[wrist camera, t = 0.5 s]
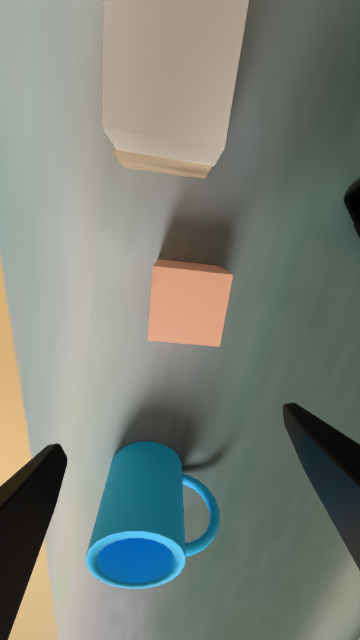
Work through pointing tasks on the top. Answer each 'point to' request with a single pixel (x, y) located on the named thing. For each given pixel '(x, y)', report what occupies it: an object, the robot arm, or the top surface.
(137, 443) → the mug
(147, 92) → the slab upper
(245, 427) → the top surface
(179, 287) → the coral cube
